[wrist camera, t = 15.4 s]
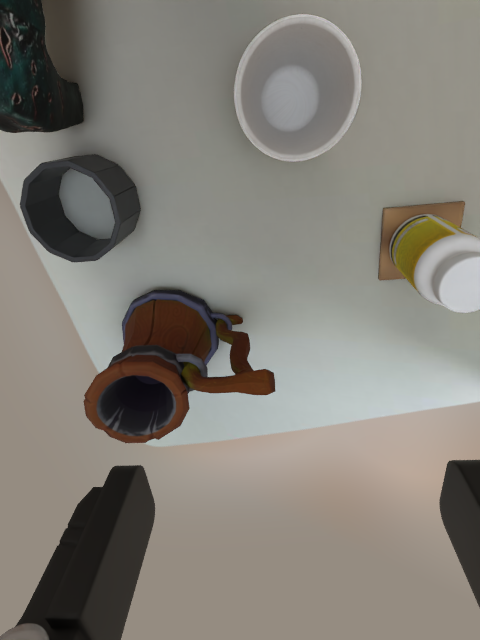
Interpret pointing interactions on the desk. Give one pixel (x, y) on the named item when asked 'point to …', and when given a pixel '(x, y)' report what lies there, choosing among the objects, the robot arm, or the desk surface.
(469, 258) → the pill bottle
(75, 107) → the ceramic cat
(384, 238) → the cork coaster
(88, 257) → the cup
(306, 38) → the dixie cup
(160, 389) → the mug
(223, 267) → the desk surface
